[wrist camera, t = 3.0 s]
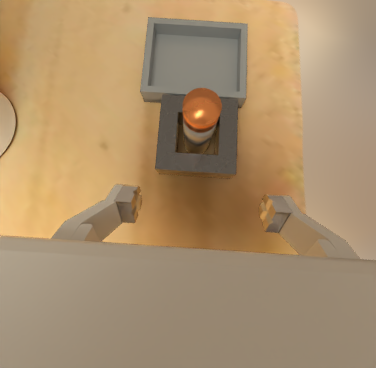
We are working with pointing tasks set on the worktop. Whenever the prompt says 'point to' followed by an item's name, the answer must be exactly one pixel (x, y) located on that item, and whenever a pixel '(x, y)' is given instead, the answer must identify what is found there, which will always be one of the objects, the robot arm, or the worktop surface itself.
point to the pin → (200, 118)
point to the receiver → (196, 163)
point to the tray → (194, 58)
